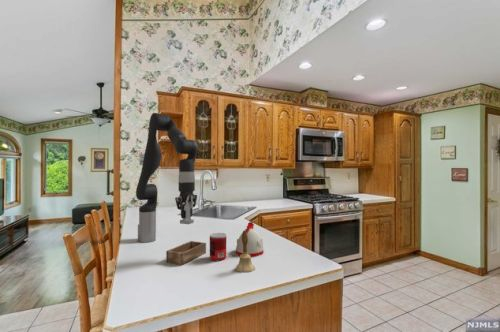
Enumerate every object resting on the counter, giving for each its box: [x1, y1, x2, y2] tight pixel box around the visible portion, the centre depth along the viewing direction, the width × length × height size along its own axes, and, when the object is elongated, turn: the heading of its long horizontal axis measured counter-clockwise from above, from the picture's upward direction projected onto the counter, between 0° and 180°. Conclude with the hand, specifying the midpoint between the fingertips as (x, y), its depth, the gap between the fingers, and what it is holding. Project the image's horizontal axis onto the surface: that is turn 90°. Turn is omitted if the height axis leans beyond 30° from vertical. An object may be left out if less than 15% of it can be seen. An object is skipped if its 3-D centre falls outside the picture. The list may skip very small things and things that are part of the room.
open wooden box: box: [165, 240, 207, 266], centre depth 120 cm, size 9×18×5 cm, turn 156°
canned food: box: [209, 232, 227, 262], centre depth 119 cm, size 8×8×11 cm
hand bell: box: [235, 229, 256, 273], centre depth 106 cm, size 8×8×16 cm
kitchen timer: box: [235, 221, 264, 258], centre depth 128 cm, size 14×14×15 cm
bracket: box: [179, 204, 195, 225], centre depth 120 cm, size 5×4×9 cm
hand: (186, 217), depth 120 cm, fingers closed on bracket, 4 cm apart
